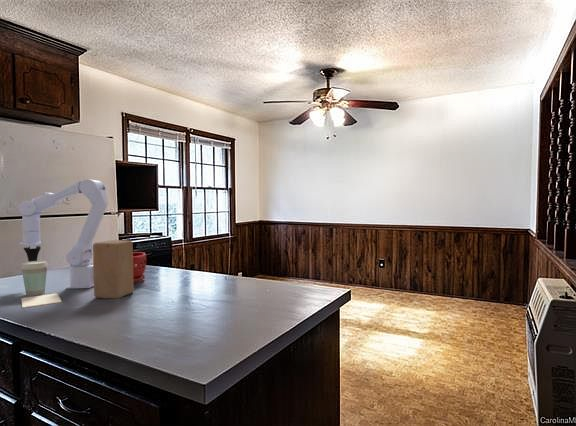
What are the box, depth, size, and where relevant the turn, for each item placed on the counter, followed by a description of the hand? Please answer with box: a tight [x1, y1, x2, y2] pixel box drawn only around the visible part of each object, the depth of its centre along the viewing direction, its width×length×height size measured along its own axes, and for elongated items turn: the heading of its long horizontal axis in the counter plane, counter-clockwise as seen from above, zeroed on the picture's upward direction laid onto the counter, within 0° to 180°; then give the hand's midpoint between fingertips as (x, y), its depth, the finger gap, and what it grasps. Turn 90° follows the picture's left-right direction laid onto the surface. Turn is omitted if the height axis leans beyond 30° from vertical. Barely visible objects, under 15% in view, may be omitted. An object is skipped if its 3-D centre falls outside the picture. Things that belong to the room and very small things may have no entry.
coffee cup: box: [20, 260, 49, 297], centre depth 139 cm, size 9×8×12 cm
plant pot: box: [133, 251, 147, 284], centre depth 159 cm, size 13×13×12 cm
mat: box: [20, 293, 63, 309], centre depth 129 cm, size 14×11×1 cm
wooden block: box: [92, 239, 135, 300], centre depth 136 cm, size 10×10×20 cm
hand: (32, 264), depth 148 cm, fingers closed
